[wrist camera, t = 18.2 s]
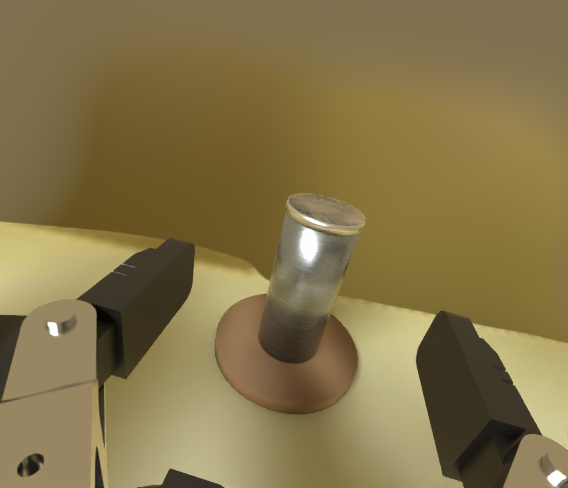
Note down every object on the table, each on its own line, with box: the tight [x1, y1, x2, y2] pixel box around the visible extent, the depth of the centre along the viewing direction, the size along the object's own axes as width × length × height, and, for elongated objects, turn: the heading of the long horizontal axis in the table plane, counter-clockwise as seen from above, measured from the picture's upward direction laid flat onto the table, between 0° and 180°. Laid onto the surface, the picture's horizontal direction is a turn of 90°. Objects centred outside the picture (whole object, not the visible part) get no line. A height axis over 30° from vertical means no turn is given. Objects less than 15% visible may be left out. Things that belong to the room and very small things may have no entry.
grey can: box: [258, 193, 366, 364], centre depth 24 cm, size 5×5×12 cm
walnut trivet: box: [215, 294, 357, 414], centre depth 27 cm, size 12×12×1 cm
